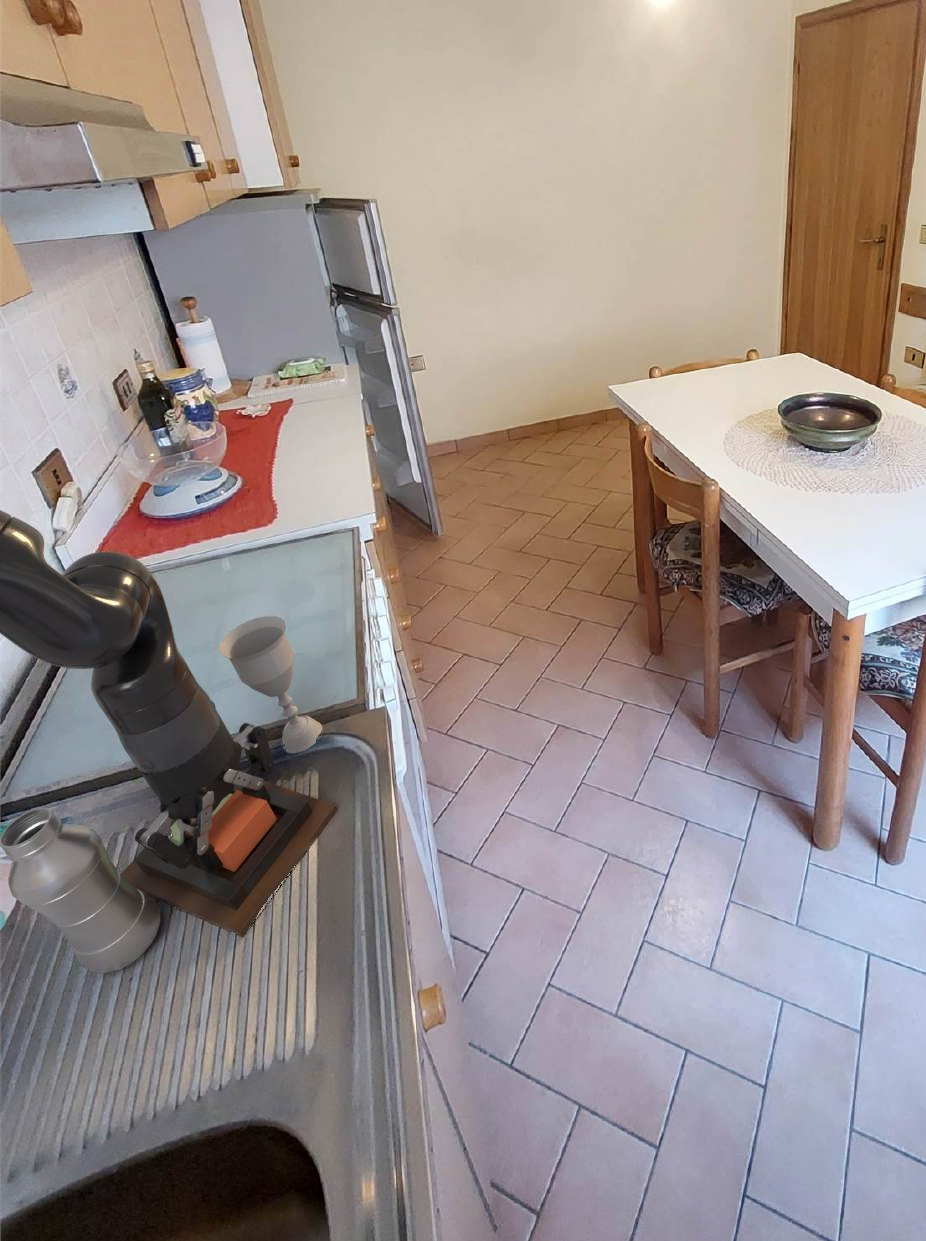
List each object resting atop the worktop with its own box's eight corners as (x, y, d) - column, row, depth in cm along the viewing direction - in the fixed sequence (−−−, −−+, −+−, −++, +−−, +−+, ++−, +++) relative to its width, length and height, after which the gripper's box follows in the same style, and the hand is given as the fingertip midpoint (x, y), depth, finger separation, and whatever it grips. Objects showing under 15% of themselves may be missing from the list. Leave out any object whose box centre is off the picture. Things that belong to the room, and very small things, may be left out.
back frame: (120, 883, 73) (107, 868, 72) (225, 771, 84) (215, 756, 83) (242, 938, 67) (231, 922, 66) (338, 809, 78) (330, 794, 77)
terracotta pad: (234, 872, 71) (222, 853, 69) (203, 859, 72) (190, 841, 70) (277, 819, 75) (266, 800, 74) (247, 808, 77) (236, 789, 75)
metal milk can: (169, 950, 67) (70, 832, 57) (89, 999, 64) (-30, 883, 54) (166, 895, 71) (75, 777, 62) (91, 938, 68) (-18, 821, 59)
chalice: (332, 707, 92) (288, 609, 83) (329, 747, 86) (282, 646, 77) (275, 725, 90) (224, 626, 81) (269, 767, 84) (213, 666, 76)
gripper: (209, 672, 72) (263, 770, 81) (77, 791, 61) (156, 892, 69) (262, 686, 70) (312, 787, 78) (134, 813, 58) (209, 916, 66)
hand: (238, 836), depth 73 cm, fingers closed on terracotta pad, 5 cm apart
